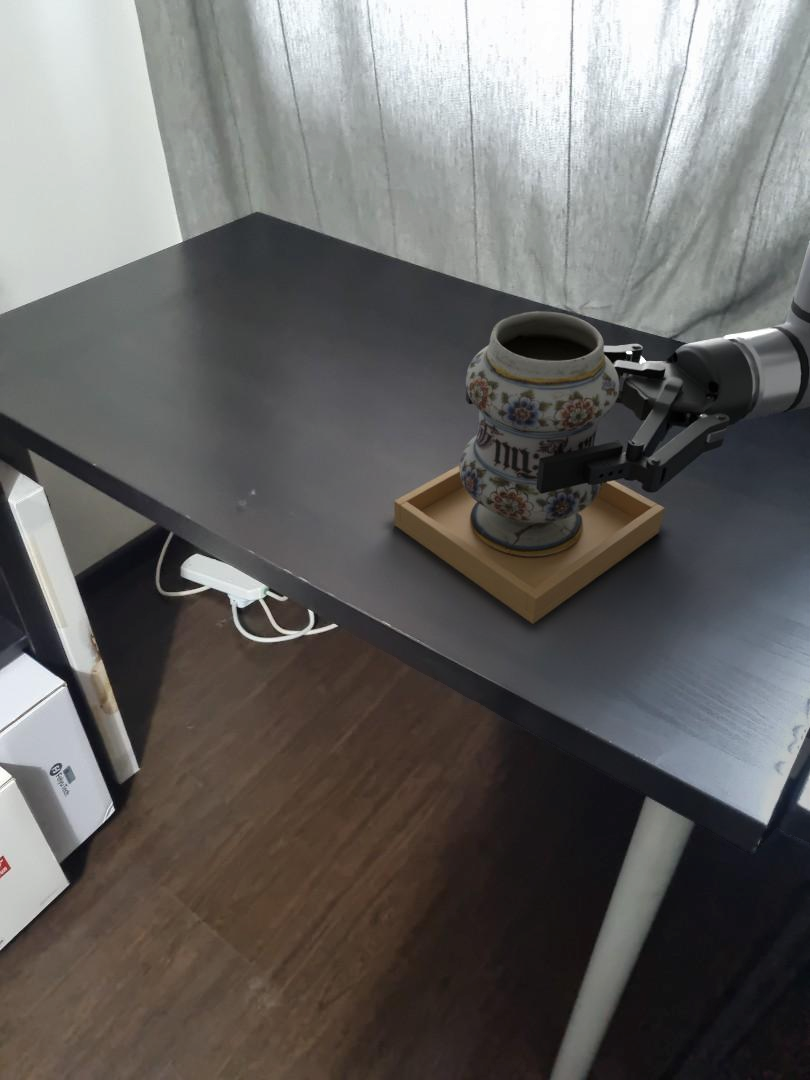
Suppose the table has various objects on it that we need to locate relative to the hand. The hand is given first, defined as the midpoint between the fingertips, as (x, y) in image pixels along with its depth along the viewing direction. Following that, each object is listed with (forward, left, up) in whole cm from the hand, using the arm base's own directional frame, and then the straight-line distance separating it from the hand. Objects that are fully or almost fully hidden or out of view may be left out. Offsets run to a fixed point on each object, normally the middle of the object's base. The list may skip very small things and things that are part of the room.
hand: (500, 429), depth 66 cm
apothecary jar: (-1, -3, -11) cm, 11 cm away
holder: (-1, -3, -11) cm, 12 cm away
